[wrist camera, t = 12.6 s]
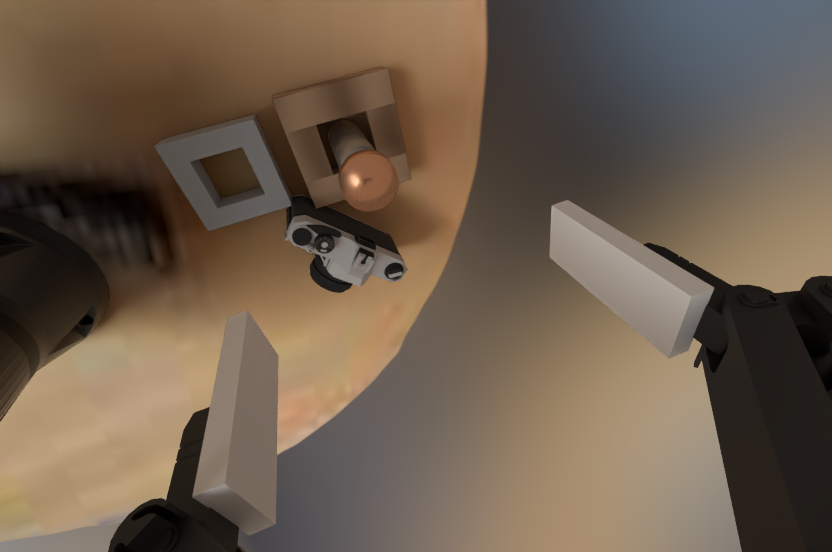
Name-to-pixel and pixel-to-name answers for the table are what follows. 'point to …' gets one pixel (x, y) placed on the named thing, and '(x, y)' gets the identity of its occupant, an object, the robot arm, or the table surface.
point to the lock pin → (362, 169)
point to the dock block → (335, 102)
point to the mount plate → (199, 188)
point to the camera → (341, 246)
